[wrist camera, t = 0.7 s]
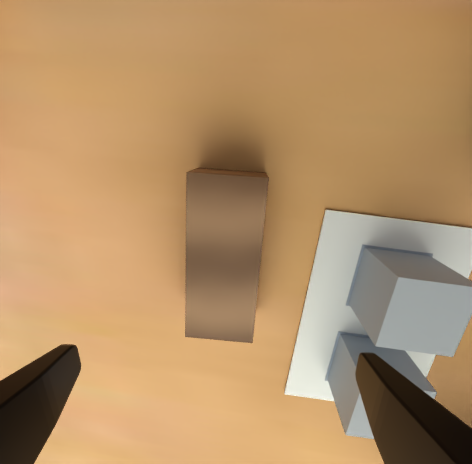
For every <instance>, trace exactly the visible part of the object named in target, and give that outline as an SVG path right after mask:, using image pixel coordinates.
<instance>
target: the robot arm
mask: <svg viewBox="0 0 472 464" xmlns="http://www.w3.org/2000/svg"><path fill="white" fill-rule="evenodd" d="M80 370H81V362H80V357H79V353H78V349H77V346H76V345H72V344H63V345H60V346H58V347H57V348H55V349H53V350H51V351H50V352H48V353H46V354H45V355H43V356H41V357H40V358H38V359H36V360H35V361H33V362H31V363H30V364H28V365H26V366H25V367H23V368H21V369H20V370H18V371H16V372H15V373H13V374H11V375H9V376H8V377H6V378H4V379H3V380H1V381H0V464H34V462H35V461H36V459H37V457H38V455H39V454H40V452H41V450H42V448H43V447H44V445H45V443H46V441H47V439H48V438H49V436H50V434H51V432H52V430H53V429H54V427H55V425H56V423H57V421H58V419H59V417H60V415H61V413H62V410H63V408H64V406H65V404H66V402H67V399H68V397H69V395H70V393H71V391H72V388H73V386H74V384H75V382H76V380H77V377H78V375H79V373H80ZM355 377H356V382H357V385H358V388H359V392H360V395H361V398H362V401H363V405H364V408H365V411H366V415H367V418H368V421H369V425H370V428H371V431H372V434H373V436H374V439H375V442H376V444H377V447H378V449H379V452H380V454H381V456H382V459H383V461H384V464H472V428H470V427H469V426H468V425H467V424H465V423H464V422H463V421H461V420H460V419H459V418H458V417H456V416H455V415H454V414H452V413H451V412H450V411H449V410H447V409H446V408H445V407H443V406H442V405H441V404H440V403H438V402H437V401H436V400H434V399H433V398H432V397H431V396H429V395H428V394H427V393H425V392H424V391H423V390H422V389H420V388H419V387H418V386H416V385H415V384H414V383H413V382H411V381H410V380H409V379H407V378H406V377H405V376H404V375H402V374H401V373H400V372H398V371H397V370H396V369H395V368H393V367H392V366H391V365H389V364H388V363H387V362H386V361H384V360H383V359H382V358H380V357H379V356H378V355H377V354H375V353H372V352H361V353H360V354H359V357H358V361H357V366H356V371H355Z"/></svg>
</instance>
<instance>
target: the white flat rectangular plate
mask: <svg viewBox="0 0 472 464" xmlns="http://www.w3.org/2000/svg"><path fill="white" fill-rule="evenodd" d="M364 248H372V249H380V250H388V251H396V252H403V253H411V254H419V255H426V256H431V257H433V258H434V259H436V260H437V261H439V262H441V263H442V264H444V265H446V266H447V267H449V268H451V269H452V270H454V271H456V272H457V273H459V274H461V275H462V276H464V277H466V278H467V279H468V278H469V275H470V273H471V271H472V228H468V227H460V226H452V225H444V224H436V223H429V222H421V221H413V220H405V219H397V218H389V217H382V216H374V215H366V214H358V213H350V212H342V211H334V210H327V209H325V213H324V218H323V222H322V226H321V231H320V235H319V240H318V244H317V249H316V253H315V258H314V262H313V267H312V271H311V276H310V280H309V285H308V289H307V294H306V298H305V302H304V307H303V311H302V316H301V320H300V325H299V329H298V334H297V338H296V343H295V347H294V352H293V356H292V361H291V365H290V369H289V374H288V378H287V383H286V387H285V392H284V393H285V394H286V395H293V396H300V397H308V398H315V399H322V400H329V401H334V398H333V395H332V392H331V389H330V386H329V383H328V380H327V379H328V376H329V372H330V369H331V365H332V361H333V358H334V354H335V351H336V347H337V344H338V340H339V337H340V334H344V335H351V336H359V337H366V338H370V337H369V335H368V334H367V332H366V331H365V329H364V327H363V326H362V324H361V323H360V321H359V319H358V318H357V316H356V315H355V313H354V311H353V310H352V308H351V307H350V305H349V301H350V298H351V294H352V290H353V287H354V283H355V280H356V276H357V273H358V269H359V266H360V262H361V258H362V255H363V251H364ZM405 351H406V350H405ZM406 352H407V354H408V355H409V356H410V358H411V359H412V360H413V362H414V363H415V364H416V366H417V367H418V368H419V369H420V371H421V372H422V373H423V375H424V376H425V377H427V375H428V372H429V370H430V368H431V365H432V363H433V361H434V358H435V356H436V355H435V354H428V353H420V352H413V351H406Z"/></svg>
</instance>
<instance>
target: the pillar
mask: <svg viewBox="0 0 472 464" xmlns="http://www.w3.org/2000/svg"><path fill="white" fill-rule="evenodd" d="M361 352H372V353H375V354H377V355H378V356H379V357H380V358H382V359H383V360H384V361H386V362H387V363H388V364H389V365H391V366H392V367H393V368H395V369H396V370H397V371H398V372H400V373H401V374H402V375H404V376H405V377H406V378H407V379H409V380H410V381H411V382H413V383H414V384H415V385H416V386H418V387H419V388H420V389H422V390H423V391H424V392H425V393H427V394H428V395H429V396H431V397H432V398H433V399H434V398H435V396H436V394H437V392H436V391H435V389H434V388H433V387H432V385H431V384H430V383H429V381H428V380H427V379H426V377H425V376H424V375H423V373H422V372H421V371H420V369H419V368H418V367H417V366H416V364H415V363H414V362H413V360H412V359H411V358H410V356H409V355H408V354H407V352H406V351H405V350H398V349H391V348H384V347H376V346H375V345H374V344H373V342H372V340H371V339H370V338H366V337H359V336H351V335H344V334H340V337H339V340H338V344H337V347H336V351H335V354H334V358H333V361H332V365H331V369H330V372H329V376H328V379H327V380H328V383H329V386H330V389H331V392H332V395H333V398H334V401H335V404H336V407H337V410H338V413H339V416H340V419H341V422H342V426H343V429H344V432H345V435H349V436H356V437H363V438H370V439H374V436H373V434H372V431H371V428H370V425H369V421H368V418H367V415H366V411H365V408H364V405H363V401H362V398H361V395H360V392H359V388H358V385H357V382H356V377H355V371H356V366H357V361H358V357H359V354H360V353H361Z"/></svg>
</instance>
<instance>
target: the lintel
mask: <svg viewBox="0 0 472 464" xmlns="http://www.w3.org/2000/svg"><path fill="white" fill-rule="evenodd" d="M268 181H269V177H268V176H267V174H266V173H263V172H249V171H234V170H220V169H206V168H197V169H194V170H191V171H189V172H187V187H186V306H185V337H193V338H204V339H214V340H225V341H236V342H247V343H253V333H254V323H255V312H256V302H257V292H258V282H259V272H260V262H261V252H262V242H263V232H264V222H265V212H266V201H267V191H268Z"/></svg>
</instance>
